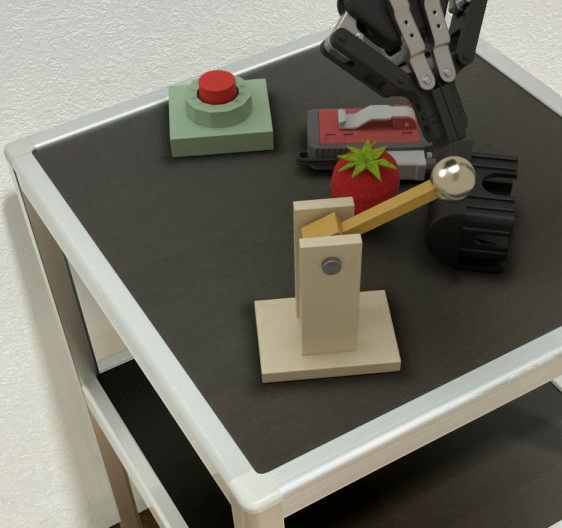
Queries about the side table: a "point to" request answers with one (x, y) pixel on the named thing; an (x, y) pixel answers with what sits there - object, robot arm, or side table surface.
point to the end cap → (475, 214)
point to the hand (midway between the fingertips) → (451, 143)
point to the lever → (404, 200)
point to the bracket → (325, 309)
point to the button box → (220, 120)
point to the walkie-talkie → (367, 137)
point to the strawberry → (365, 177)
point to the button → (217, 87)
